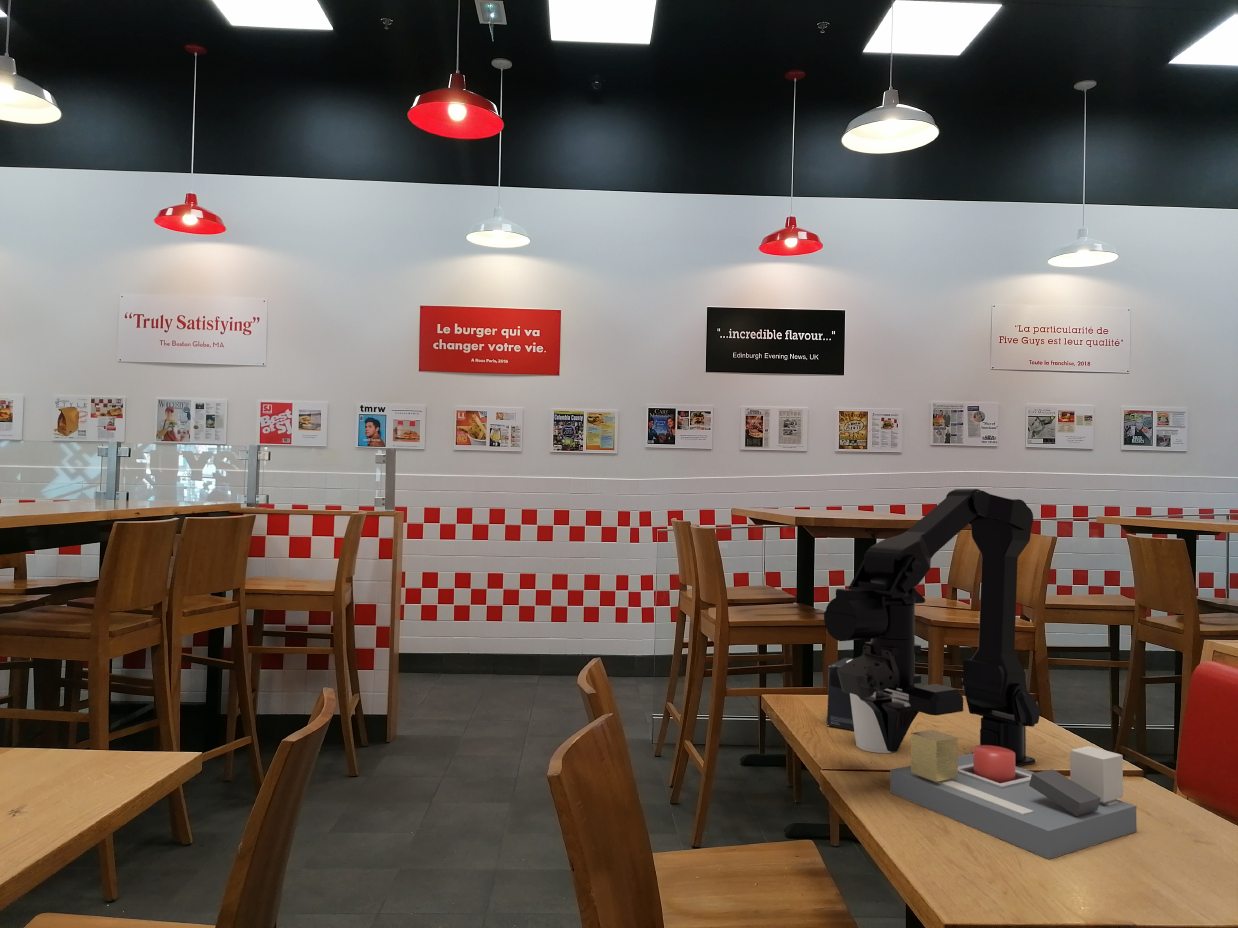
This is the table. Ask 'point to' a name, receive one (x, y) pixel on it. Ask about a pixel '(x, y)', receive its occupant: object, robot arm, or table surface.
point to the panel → (1014, 810)
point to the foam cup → (866, 726)
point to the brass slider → (934, 755)
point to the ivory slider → (1098, 772)
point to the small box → (839, 703)
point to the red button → (994, 763)
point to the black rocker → (1064, 792)
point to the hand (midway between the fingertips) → (892, 751)
